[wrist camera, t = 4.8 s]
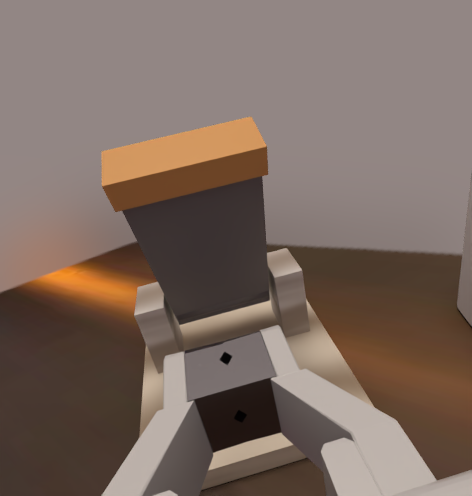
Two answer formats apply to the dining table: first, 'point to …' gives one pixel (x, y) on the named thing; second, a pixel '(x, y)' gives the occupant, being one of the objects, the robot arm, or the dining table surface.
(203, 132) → the rocker lever
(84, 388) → the dining table surface
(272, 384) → the robot arm
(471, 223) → the milk carton
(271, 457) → the switch base
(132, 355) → the dining table surface
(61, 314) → the dining table surface
